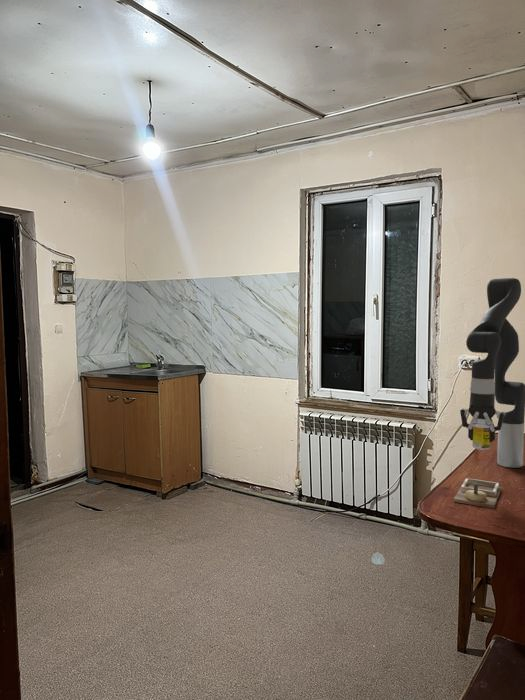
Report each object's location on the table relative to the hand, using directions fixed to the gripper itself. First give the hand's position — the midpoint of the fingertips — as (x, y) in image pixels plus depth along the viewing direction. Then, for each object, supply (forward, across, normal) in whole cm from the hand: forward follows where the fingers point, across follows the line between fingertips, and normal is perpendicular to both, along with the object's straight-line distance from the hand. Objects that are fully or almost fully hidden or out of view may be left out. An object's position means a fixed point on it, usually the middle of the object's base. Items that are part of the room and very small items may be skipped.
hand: (481, 440), depth 176 cm
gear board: (+18, 0, +4) cm, 18 cm away
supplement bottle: (+3, 0, 0) cm, 3 cm away
